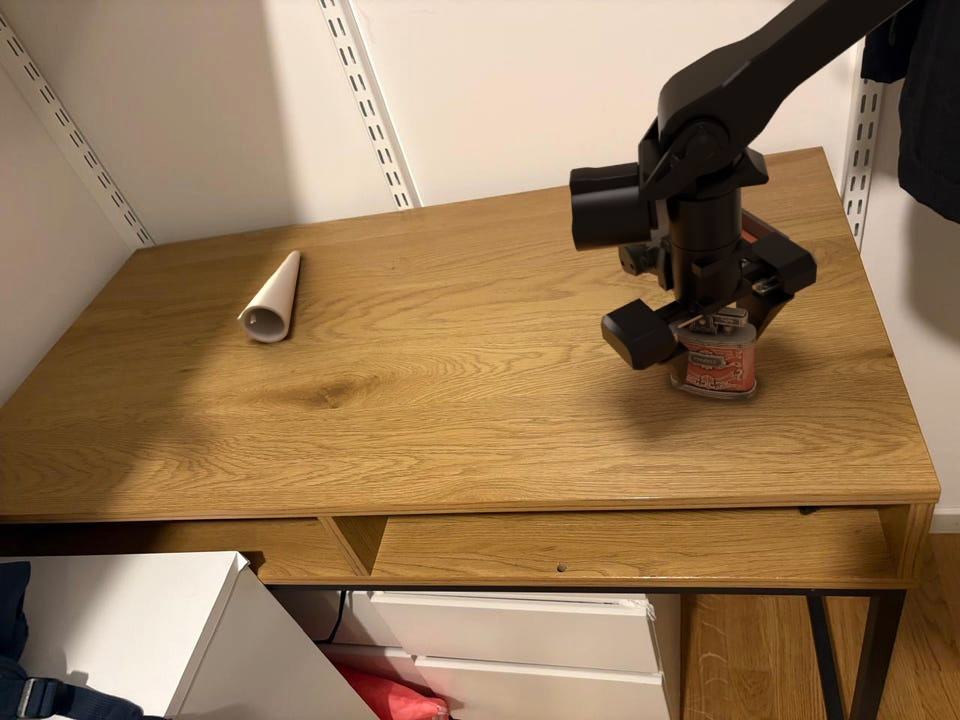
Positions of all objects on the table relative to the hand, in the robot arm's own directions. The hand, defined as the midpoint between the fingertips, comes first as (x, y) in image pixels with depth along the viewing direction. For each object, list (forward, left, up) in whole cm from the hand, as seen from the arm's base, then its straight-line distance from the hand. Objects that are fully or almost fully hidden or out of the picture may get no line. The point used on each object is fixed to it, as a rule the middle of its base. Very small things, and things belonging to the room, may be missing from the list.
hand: (711, 366), depth 71 cm
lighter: (0, 0, -3) cm, 3 cm away
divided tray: (-12, -22, -2) cm, 25 cm away
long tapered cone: (+34, -47, -3) cm, 58 cm away
